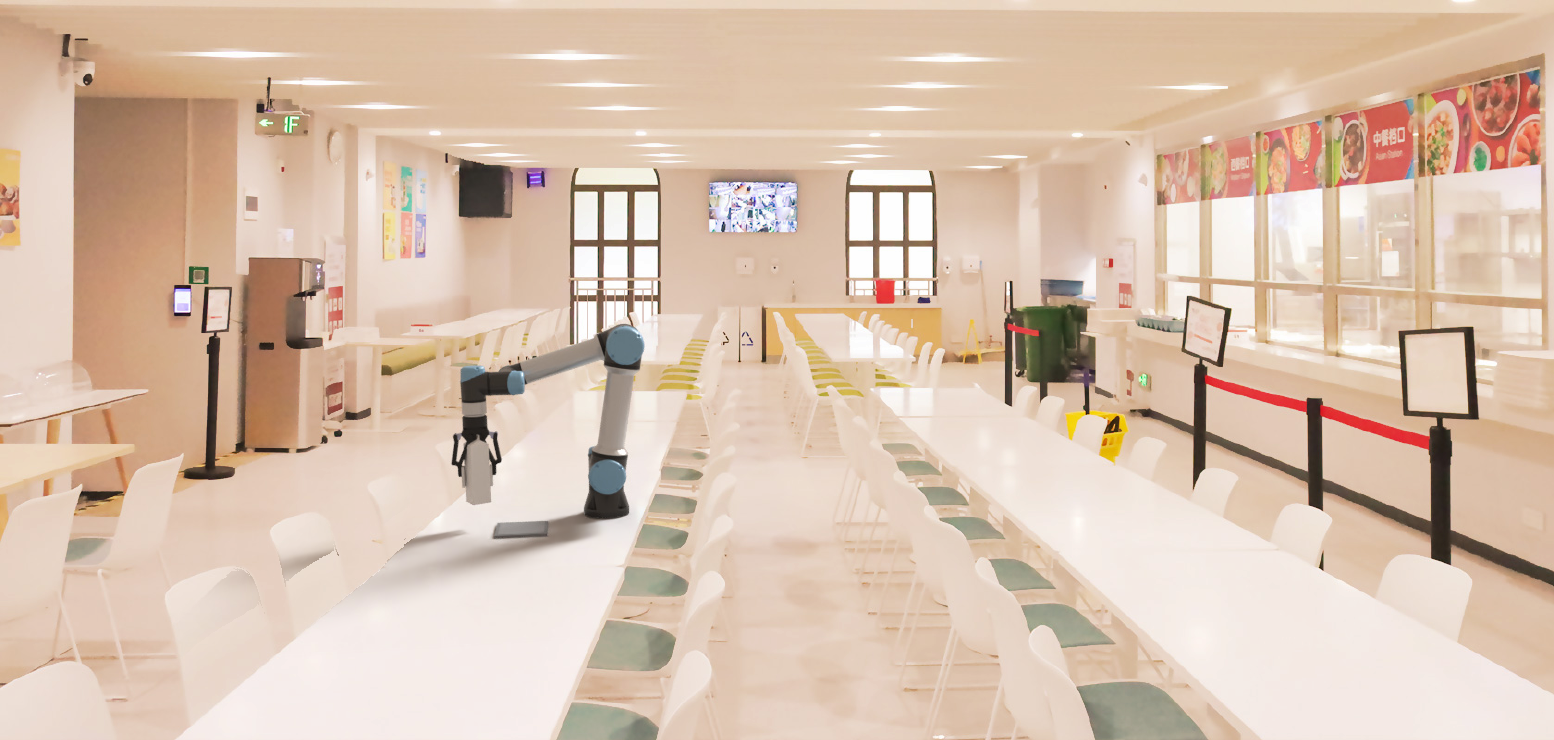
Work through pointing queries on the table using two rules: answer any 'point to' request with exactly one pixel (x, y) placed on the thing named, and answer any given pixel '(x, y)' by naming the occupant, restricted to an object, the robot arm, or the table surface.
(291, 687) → the table surface
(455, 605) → the table surface
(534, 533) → the mat
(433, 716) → the table surface
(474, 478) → the milk
